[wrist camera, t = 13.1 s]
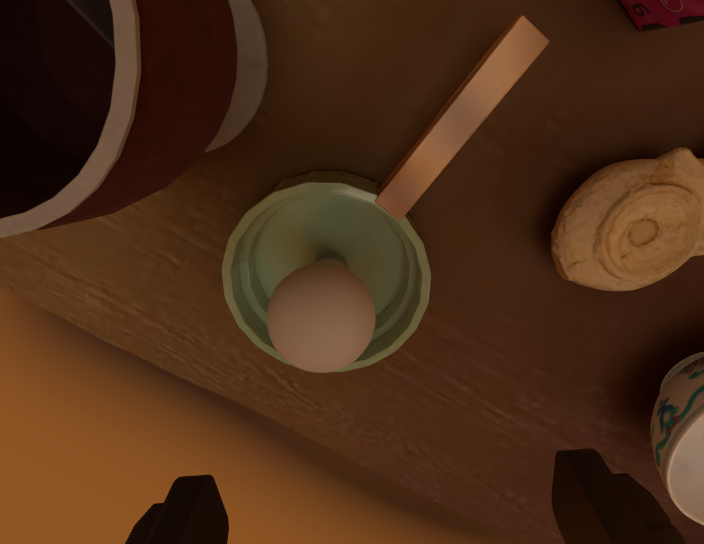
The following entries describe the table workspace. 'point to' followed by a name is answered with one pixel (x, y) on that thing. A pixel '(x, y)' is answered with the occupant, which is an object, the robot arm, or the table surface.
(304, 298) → the lightbulb
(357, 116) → the table surface
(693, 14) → the candy bar box
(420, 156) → the pan handle
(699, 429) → the chinaware
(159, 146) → the mate gourd
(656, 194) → the oil lamp
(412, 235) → the pan
